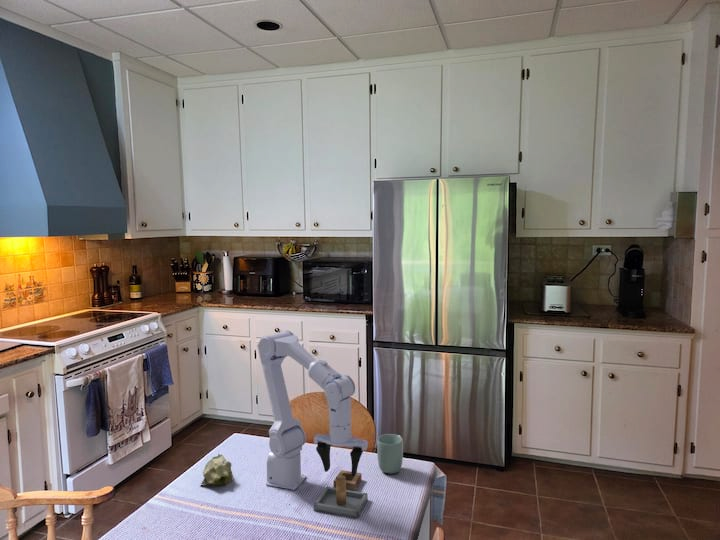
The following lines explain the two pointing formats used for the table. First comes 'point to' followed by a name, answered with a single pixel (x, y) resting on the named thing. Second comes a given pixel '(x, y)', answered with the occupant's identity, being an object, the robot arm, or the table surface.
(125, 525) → the table surface
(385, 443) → the cup
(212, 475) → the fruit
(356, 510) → the tray
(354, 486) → the socket
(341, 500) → the pin
